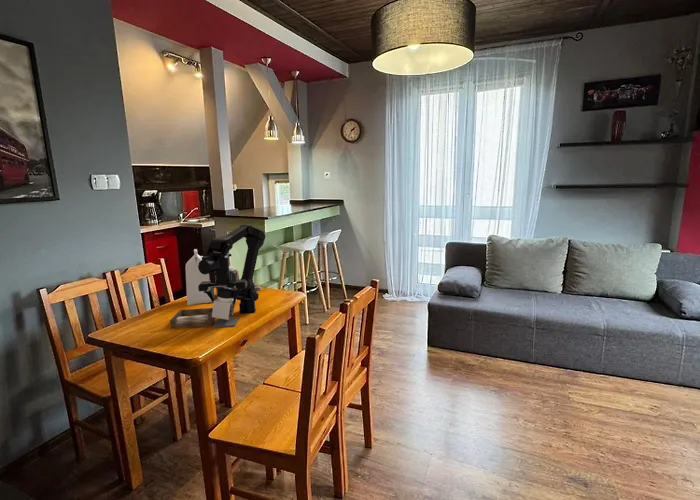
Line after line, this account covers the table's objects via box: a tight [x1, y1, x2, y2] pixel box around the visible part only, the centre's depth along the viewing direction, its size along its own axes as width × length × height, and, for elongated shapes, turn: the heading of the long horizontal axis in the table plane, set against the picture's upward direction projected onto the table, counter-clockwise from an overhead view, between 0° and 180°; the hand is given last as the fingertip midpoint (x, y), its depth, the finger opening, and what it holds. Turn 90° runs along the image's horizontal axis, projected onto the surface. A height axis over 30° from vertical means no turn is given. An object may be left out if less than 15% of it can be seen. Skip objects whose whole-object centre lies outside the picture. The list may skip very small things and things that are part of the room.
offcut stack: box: [176, 315, 209, 324], centre depth 156 cm, size 12×2×4 cm, turn 102°
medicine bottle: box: [212, 287, 236, 320], centre depth 156 cm, size 7×7×12 cm
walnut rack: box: [169, 307, 217, 329], centre depth 160 cm, size 16×13×4 cm
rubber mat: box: [212, 317, 239, 329], centre depth 158 cm, size 9×9×1 cm
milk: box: [185, 248, 213, 306], centre depth 188 cm, size 12×12×26 cm
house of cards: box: [253, 276, 262, 292], centre depth 209 cm, size 9×9×8 cm
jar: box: [214, 265, 240, 298], centre depth 198 cm, size 12×12×15 cm
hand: (224, 304), depth 157 cm, fingers closed on medicine bottle, 7 cm apart
